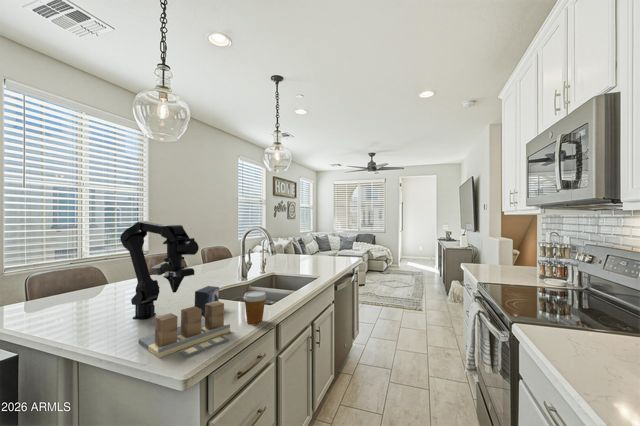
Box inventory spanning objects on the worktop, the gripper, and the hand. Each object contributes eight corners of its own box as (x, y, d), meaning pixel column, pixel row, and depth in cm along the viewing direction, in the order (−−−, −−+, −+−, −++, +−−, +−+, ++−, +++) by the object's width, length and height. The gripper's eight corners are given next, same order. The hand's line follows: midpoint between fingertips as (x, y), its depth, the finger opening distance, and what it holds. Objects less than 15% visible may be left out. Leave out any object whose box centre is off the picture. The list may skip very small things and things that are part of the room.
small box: (206, 315, 126) (206, 292, 126) (193, 314, 127) (193, 291, 127) (219, 308, 136) (219, 286, 136) (207, 307, 138) (207, 285, 138)
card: (178, 353, 91) (178, 351, 91) (222, 337, 104) (222, 335, 104) (185, 358, 88) (185, 355, 88) (229, 340, 101) (229, 338, 101)
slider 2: (204, 327, 108) (205, 303, 108) (216, 323, 112) (216, 300, 112) (212, 330, 105) (212, 306, 105) (223, 326, 109) (224, 303, 109)
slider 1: (154, 343, 94) (155, 317, 94) (170, 338, 98) (170, 312, 98) (161, 348, 91) (161, 320, 91) (177, 342, 95) (177, 316, 95)
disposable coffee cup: (245, 318, 123) (245, 290, 123) (267, 317, 124) (267, 290, 124) (241, 326, 114) (241, 297, 114) (264, 326, 114) (265, 296, 115)
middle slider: (180, 334, 101) (181, 309, 101) (194, 330, 105) (194, 306, 105) (187, 338, 98) (188, 312, 98) (201, 333, 102) (201, 309, 102)
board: (138, 343, 98) (138, 335, 98) (207, 321, 119) (207, 315, 119) (159, 357, 88) (159, 349, 88) (230, 331, 109) (230, 324, 109)
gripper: (142, 256, 116) (142, 294, 115) (169, 257, 106) (169, 299, 106) (168, 253, 125) (168, 289, 124) (195, 254, 116) (195, 292, 115)
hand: (174, 292), depth 117 cm, fingers closed
